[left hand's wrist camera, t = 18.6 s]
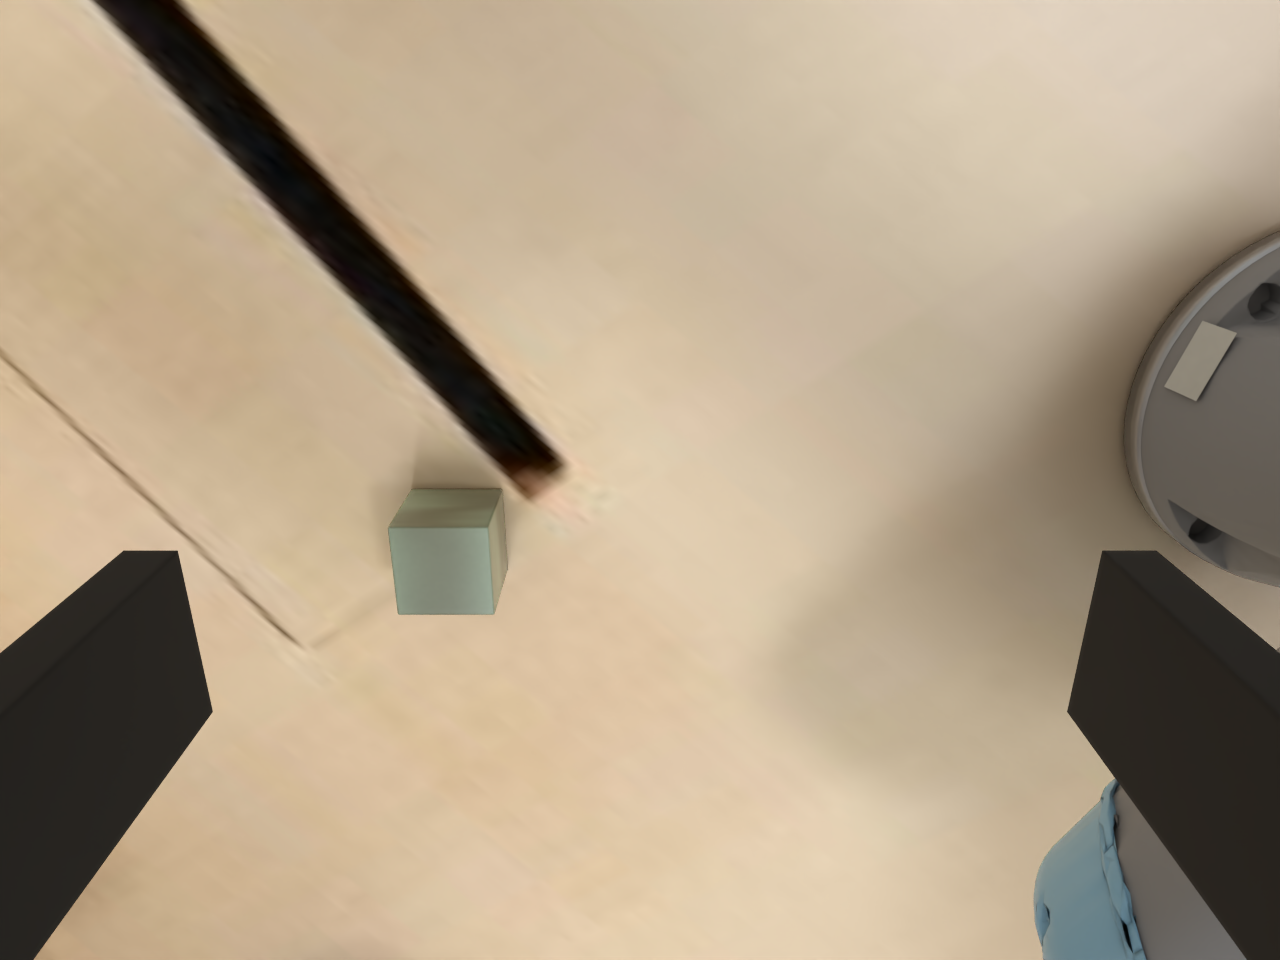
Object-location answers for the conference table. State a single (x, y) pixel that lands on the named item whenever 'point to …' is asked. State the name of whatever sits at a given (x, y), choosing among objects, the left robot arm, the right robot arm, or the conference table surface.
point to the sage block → (449, 552)
